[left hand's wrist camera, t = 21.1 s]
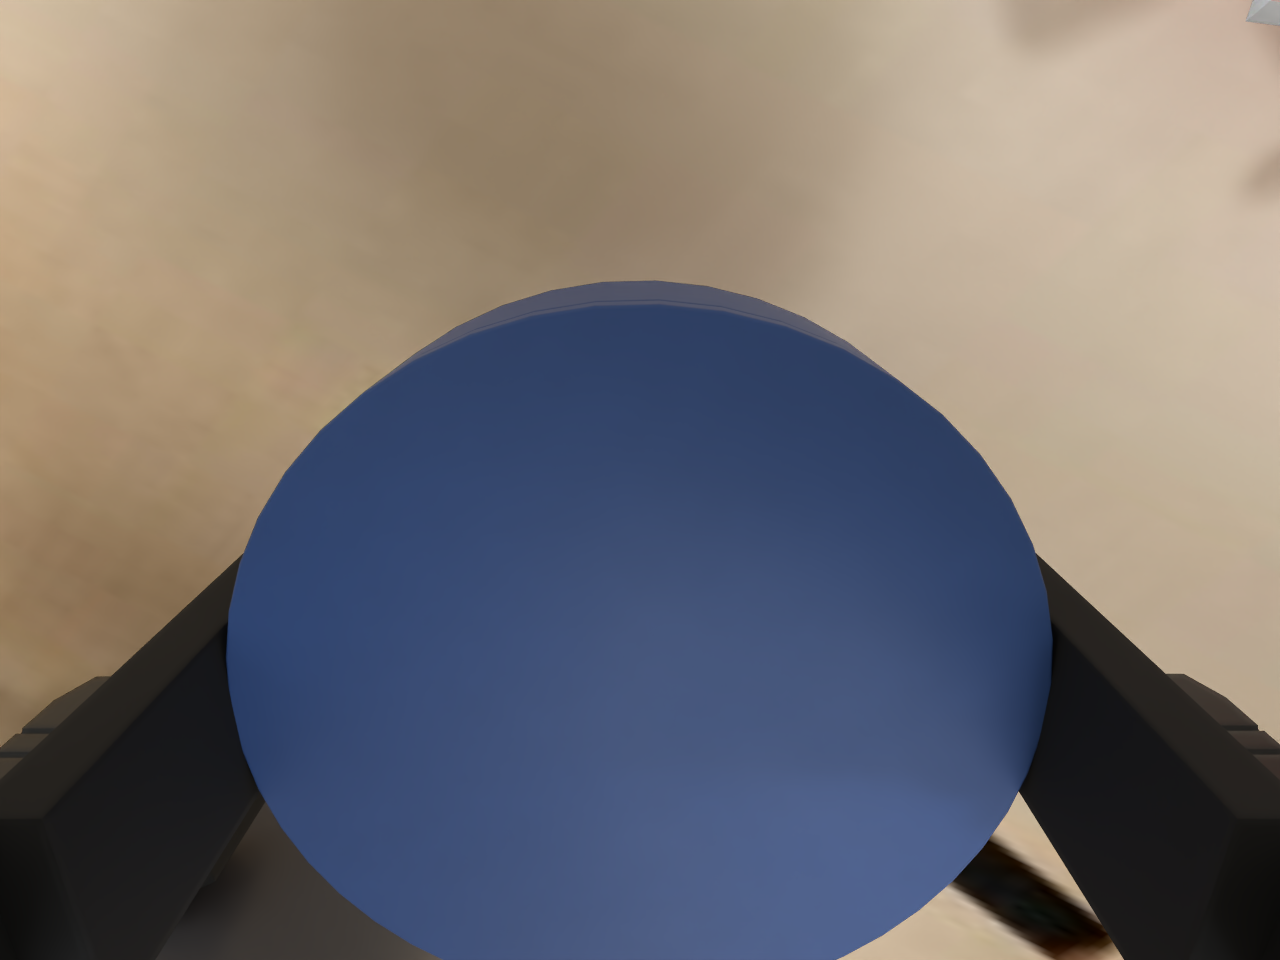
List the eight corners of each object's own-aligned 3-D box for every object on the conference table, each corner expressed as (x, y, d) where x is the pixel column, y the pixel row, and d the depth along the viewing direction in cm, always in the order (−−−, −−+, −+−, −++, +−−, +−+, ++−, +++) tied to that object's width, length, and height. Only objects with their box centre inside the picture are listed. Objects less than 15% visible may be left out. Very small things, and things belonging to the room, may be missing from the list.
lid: (826, 935, 15) (858, 1061, 13) (254, 801, 14) (183, 916, 12) (1109, 411, 11) (1221, 465, 9) (365, 171, 10) (290, 167, 8)
